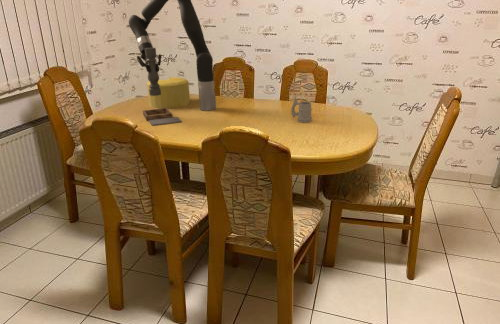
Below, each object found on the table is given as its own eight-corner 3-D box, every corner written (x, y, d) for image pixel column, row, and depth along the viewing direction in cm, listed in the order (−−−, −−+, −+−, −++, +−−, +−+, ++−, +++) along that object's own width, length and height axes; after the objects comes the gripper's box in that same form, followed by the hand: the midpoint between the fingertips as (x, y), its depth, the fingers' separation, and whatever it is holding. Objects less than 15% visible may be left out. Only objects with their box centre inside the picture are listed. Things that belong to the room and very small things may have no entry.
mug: (308, 123, 199) (309, 101, 194) (288, 120, 204) (288, 99, 200) (313, 120, 205) (314, 98, 200) (293, 117, 210) (294, 96, 206)
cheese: (159, 98, 259) (157, 76, 254) (195, 99, 254) (193, 77, 249) (142, 107, 236) (139, 83, 230) (181, 109, 231) (179, 84, 225)
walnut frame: (167, 112, 225) (166, 107, 224) (172, 117, 213) (171, 113, 212) (143, 114, 220) (142, 110, 219) (146, 120, 208) (146, 116, 207)
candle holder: (158, 95, 208) (152, 48, 198) (147, 95, 209) (142, 48, 199) (162, 93, 213) (157, 47, 203) (152, 93, 214) (147, 47, 205)
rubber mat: (177, 117, 213) (177, 116, 213) (181, 122, 204) (181, 121, 204) (148, 121, 207) (148, 119, 207) (151, 125, 199) (151, 124, 198)
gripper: (132, 42, 203) (141, 68, 198) (158, 40, 209) (167, 65, 204) (132, 51, 210) (140, 77, 204) (157, 50, 216) (165, 74, 210)
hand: (153, 71), depth 204 cm, fingers closed on candle holder, 4 cm apart
